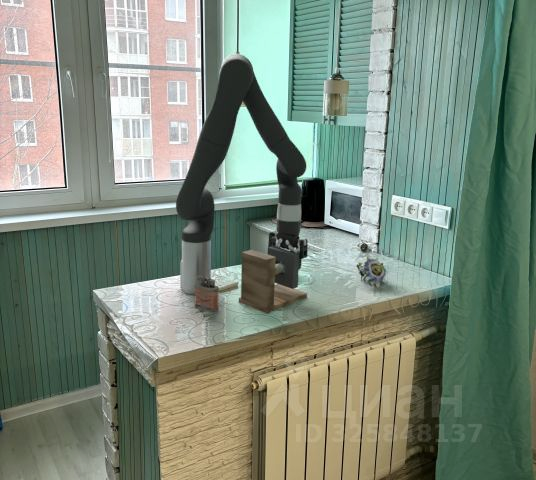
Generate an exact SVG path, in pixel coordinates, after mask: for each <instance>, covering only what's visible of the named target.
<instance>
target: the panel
mask: <svg viewBox="0 0 536 480" xmlns="http://www.w3.org/2000/svg"><path fill="white" fill-rule="evenodd" d="M266 254H267V255H271V256H274V257H276V263H275V264H279V263H280V262H283V263H285V273H284V272H282V273H279V274H276V275H275V284H280V285H282V286H285V287H288V288H291V289H297V288H298V285H299V271H300V270H299V253H295V252H291V251H290V250H289V251H288V250H287V249H283V248H276V247H274V246H271V247H268V246H267V253H266Z"/></svg>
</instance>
